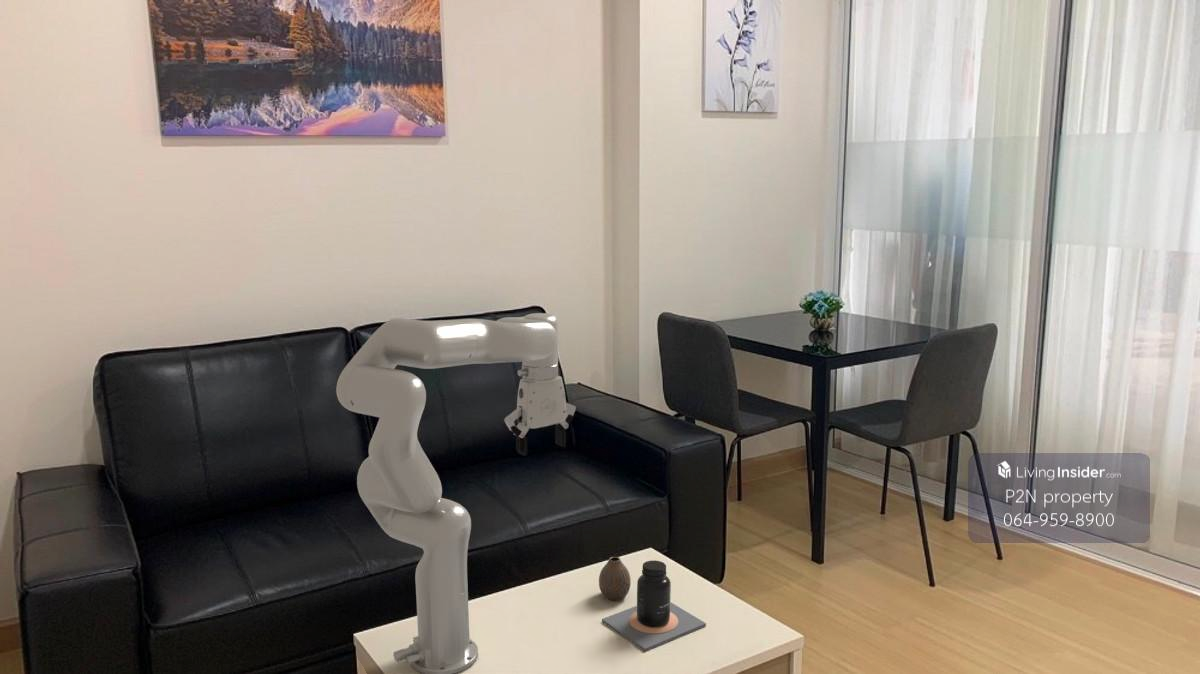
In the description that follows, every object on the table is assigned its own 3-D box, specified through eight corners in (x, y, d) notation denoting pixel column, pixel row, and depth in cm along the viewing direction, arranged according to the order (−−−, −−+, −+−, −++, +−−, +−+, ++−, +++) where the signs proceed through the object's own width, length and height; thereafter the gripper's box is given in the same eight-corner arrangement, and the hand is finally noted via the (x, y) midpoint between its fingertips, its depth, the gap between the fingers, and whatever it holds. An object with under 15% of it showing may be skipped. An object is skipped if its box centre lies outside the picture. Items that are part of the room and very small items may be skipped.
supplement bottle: (668, 630, 171) (668, 574, 168) (634, 626, 172) (634, 571, 170) (672, 613, 177) (672, 559, 175) (639, 610, 179) (639, 556, 176)
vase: (594, 601, 184) (594, 563, 182) (604, 587, 190) (603, 550, 189) (625, 606, 182) (625, 567, 180) (634, 591, 188) (634, 554, 187)
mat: (644, 651, 164) (644, 647, 164) (601, 621, 176) (601, 618, 175) (705, 625, 174) (706, 622, 174) (661, 599, 185) (661, 595, 185)
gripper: (514, 381, 172) (515, 462, 175) (584, 369, 182) (584, 446, 186) (495, 374, 178) (497, 452, 181) (564, 363, 188) (565, 438, 191)
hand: (541, 449), depth 183 cm, fingers open, 9 cm apart
